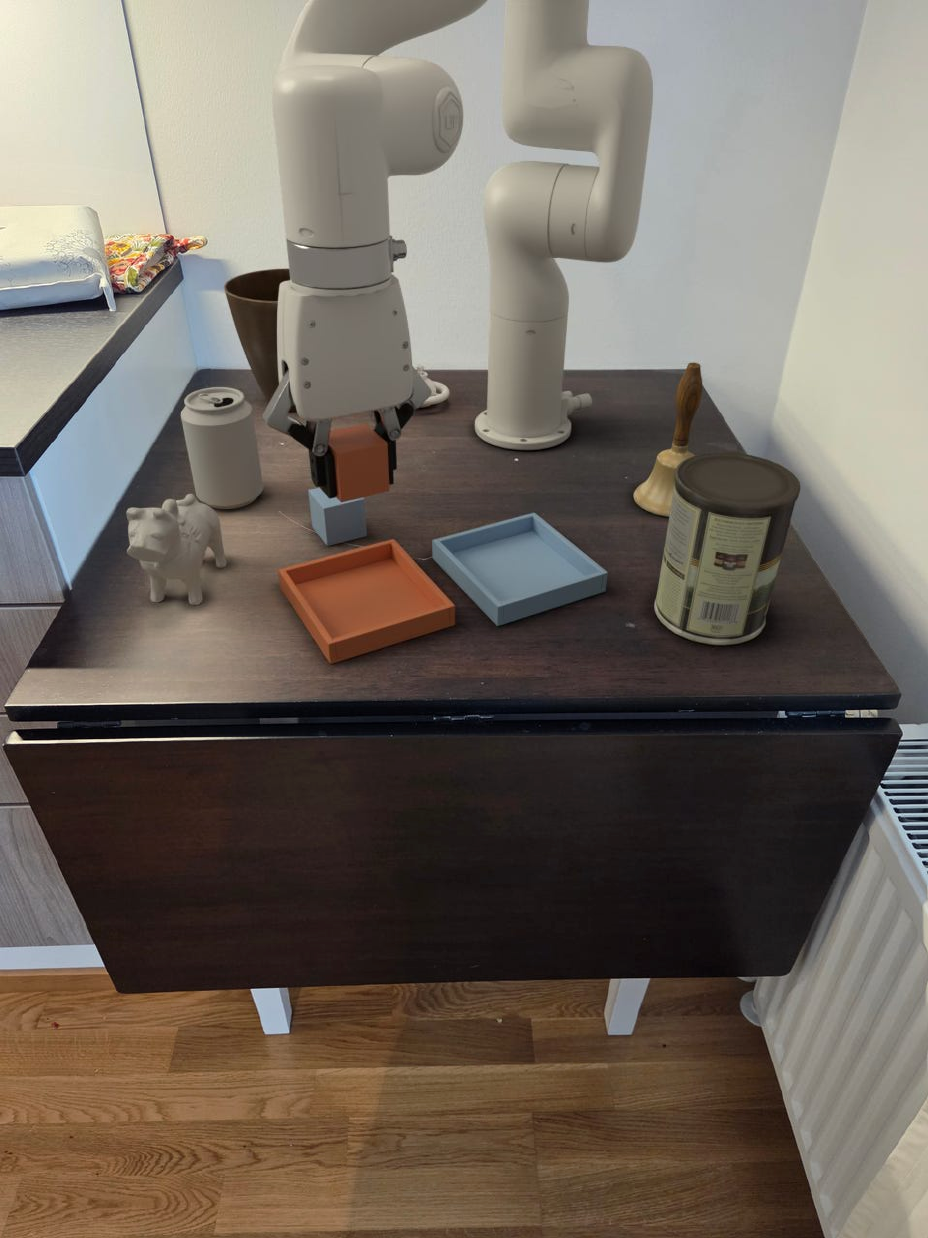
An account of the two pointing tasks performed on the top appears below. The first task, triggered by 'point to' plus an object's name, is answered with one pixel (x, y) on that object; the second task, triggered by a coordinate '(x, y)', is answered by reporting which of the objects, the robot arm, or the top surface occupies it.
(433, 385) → the ring around a ball
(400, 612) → the terracotta tray
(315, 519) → the blue block
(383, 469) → the terracotta block
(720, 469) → the coffee can
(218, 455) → the can
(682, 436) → the hand bell
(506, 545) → the blue tray
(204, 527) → the dog figurine
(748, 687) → the top surface
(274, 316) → the flower pot
